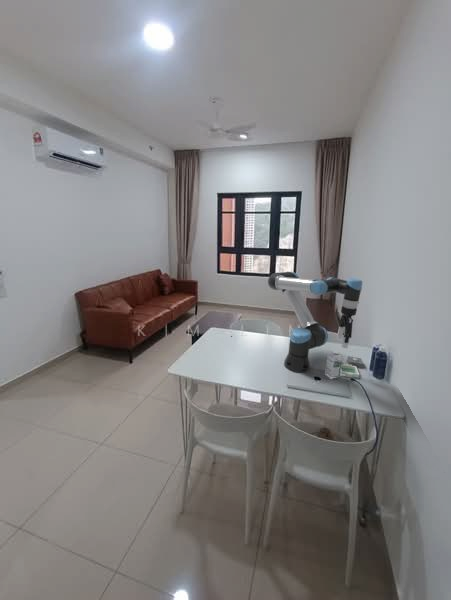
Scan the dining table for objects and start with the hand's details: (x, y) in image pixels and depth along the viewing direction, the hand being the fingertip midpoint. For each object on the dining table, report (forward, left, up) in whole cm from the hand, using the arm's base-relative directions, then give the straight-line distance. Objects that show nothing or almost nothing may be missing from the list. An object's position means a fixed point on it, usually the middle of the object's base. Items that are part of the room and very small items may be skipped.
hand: (341, 342), depth 153 cm
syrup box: (-3, -3, -21) cm, 21 cm away
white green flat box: (+7, +5, -21) cm, 23 cm away
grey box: (+13, +16, -21) cm, 29 cm away
